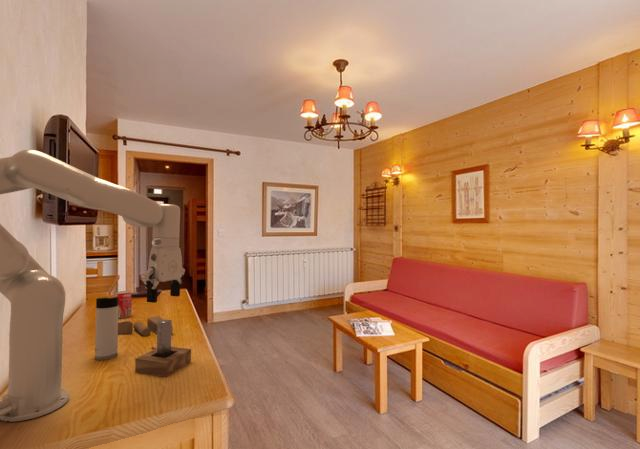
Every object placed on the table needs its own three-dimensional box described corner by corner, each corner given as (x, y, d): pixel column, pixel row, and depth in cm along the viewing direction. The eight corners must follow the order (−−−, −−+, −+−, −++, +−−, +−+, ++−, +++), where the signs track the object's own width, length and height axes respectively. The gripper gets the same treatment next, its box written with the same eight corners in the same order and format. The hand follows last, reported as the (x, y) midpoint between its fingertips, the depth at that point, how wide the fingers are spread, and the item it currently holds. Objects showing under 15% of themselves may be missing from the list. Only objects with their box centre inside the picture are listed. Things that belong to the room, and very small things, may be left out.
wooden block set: (158, 313, 141) (173, 322, 128) (157, 326, 141) (173, 336, 128) (113, 320, 129) (125, 331, 116) (113, 334, 129) (125, 346, 116)
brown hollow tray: (166, 376, 92) (166, 362, 92) (135, 372, 95) (135, 358, 95) (190, 361, 102) (191, 349, 102) (162, 357, 105) (162, 345, 105)
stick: (171, 353, 109) (171, 351, 109) (169, 354, 108) (169, 352, 108) (153, 348, 114) (153, 346, 114) (151, 348, 113) (151, 346, 113)
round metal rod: (164, 370, 96) (165, 323, 96) (153, 368, 97) (154, 322, 97) (173, 364, 100) (174, 320, 100) (163, 363, 101) (163, 319, 101)
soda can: (115, 315, 154) (115, 291, 155) (132, 314, 157) (132, 290, 158) (112, 319, 148) (113, 293, 148) (130, 318, 151) (130, 292, 151)
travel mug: (91, 361, 102) (92, 298, 102) (99, 353, 108) (100, 294, 108) (113, 359, 103) (114, 298, 104) (120, 351, 110) (121, 293, 110)
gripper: (154, 244, 90) (152, 305, 89) (194, 243, 106) (192, 294, 106) (133, 244, 92) (130, 303, 91) (175, 242, 108) (173, 293, 108)
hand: (163, 298), depth 99 cm, fingers open, 9 cm apart
